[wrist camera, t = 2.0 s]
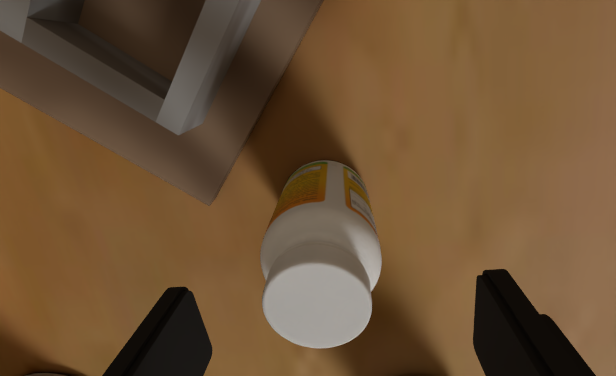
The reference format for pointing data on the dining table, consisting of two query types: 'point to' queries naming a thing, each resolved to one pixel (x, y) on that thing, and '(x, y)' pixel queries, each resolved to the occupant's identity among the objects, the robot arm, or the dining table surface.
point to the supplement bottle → (320, 257)
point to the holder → (154, 75)
